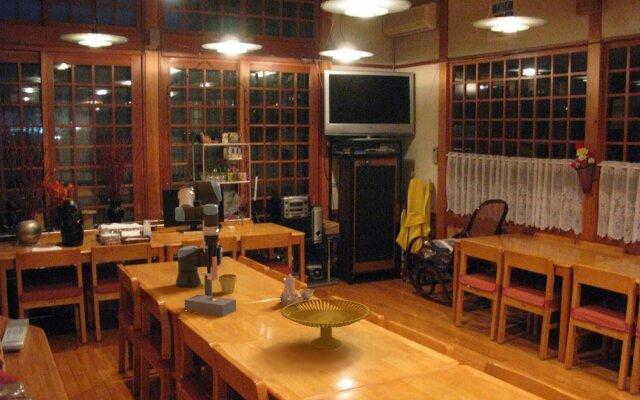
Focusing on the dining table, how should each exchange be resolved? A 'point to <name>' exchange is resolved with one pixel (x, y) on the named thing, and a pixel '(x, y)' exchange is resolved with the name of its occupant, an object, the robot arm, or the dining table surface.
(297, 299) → the chinaware
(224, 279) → the plant pot
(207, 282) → the bobbin
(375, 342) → the dining table surface
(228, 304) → the notched board
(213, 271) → the tab
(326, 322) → the pedestal fruit bowl
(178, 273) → the robot arm
